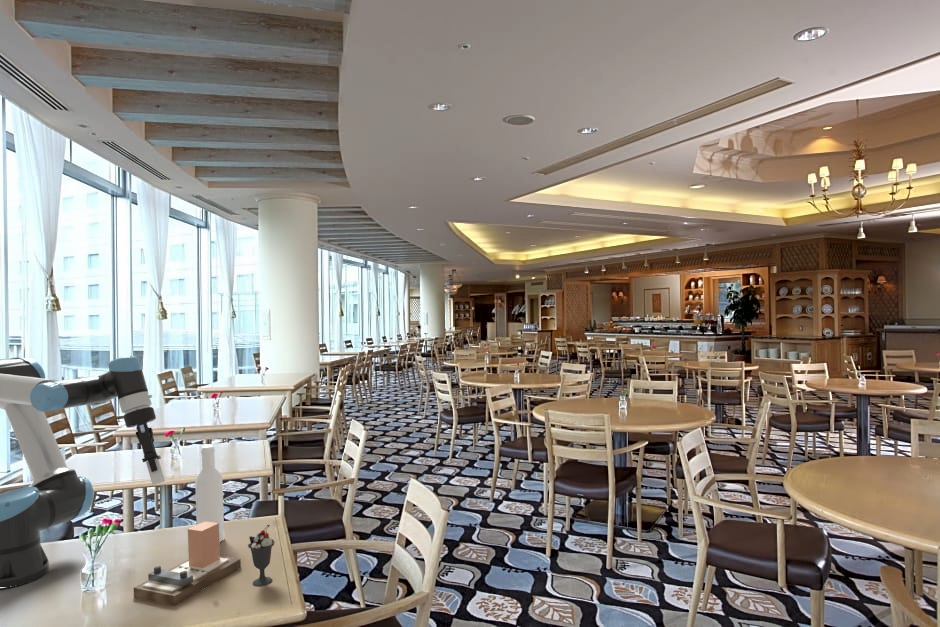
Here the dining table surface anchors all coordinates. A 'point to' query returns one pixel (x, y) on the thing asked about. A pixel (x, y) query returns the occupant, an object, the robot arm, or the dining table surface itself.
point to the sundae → (261, 555)
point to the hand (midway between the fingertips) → (159, 483)
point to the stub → (204, 547)
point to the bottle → (209, 492)
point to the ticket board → (189, 587)
